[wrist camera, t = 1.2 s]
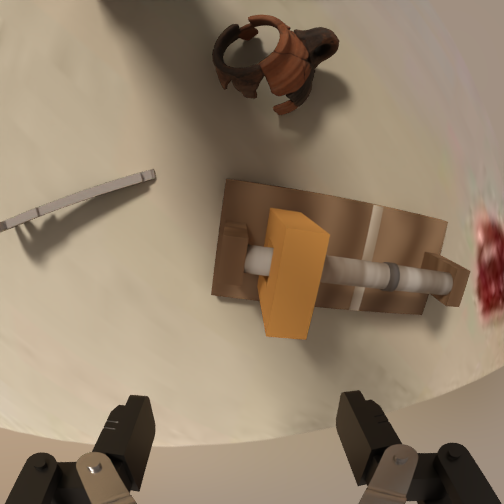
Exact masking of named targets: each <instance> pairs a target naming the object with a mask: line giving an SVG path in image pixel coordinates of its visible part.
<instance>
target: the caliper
mask: <svg viewBox="0 0 504 504" xmlns="http://www.w3.org/2000/svg"><path fill="white" fill-rule="evenodd" d="M154 178H156V177H155V173H154V169H152V170H148V171H144V172H140V173H136V174H133V175H130V176H126V177H123V178H120V179H117V180H113V181H110V182H107V183H104V184H101V185H98V186H95V187H92V188H89V189H86V190H83V191H80V192H77V193H74V194H72V195H69V196H66V197H63V198H61V199H58V200H55V201H53V202H50V203H47V204H45V205H42V206H39V207H37V208H34V209H31V210H29V211H26V212H24V213H21V214H19V215H17V216H14V217H12V218H9V219H7V220H5V221H3V222H0V232H3V231H5V230H8V229H11V228H14V227H16V226H17V225H20V224H23V223H26V222H27V221H29V220H32V219H35V218H37V217H40V216H43V215H45V214H47V213H50V212H53V211H55V210H58V209H61V208H64V207H66V206H69V205H72V204H75V203H78V202H81V201H84V200H87V199H90V198H93V197H96V196H99V195H102V194H105V193H108V192H111V191H114V190H118V189H121V188H124V187H127V186H131V185H134V184H137V183H141V182H144V181H147V180H151V179H154Z"/></svg>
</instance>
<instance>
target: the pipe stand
mask: <svg viewBox="0 0 504 504" xmlns="http://www.w3.org/2000/svg"><path fill="white" fill-rule="evenodd" d="M270 208H276V209H283V210H289V211H296V212H301V213H302V214H304V215H305V216H306V217H308V218H309V219H310V220H312V221H313V222H314V223H316V224H317V225H318V226H320V227H321V228H322V229H324V230H325V231H326V232H328V233H329V234H330V238H329V243H328V247H327V252H326V257H325V262H324V266H323V271H322V275H321V280H320V284H319V288H318V293H317V297H316V301H315V305H314V307H323V308H334V309H346V310H354V311H371V312H385V313H400V314H417V315H422V313H423V310H424V307H425V304H426V301H427V298H428V295H429V294H431V295H432V296H434V297H435V298H436V299H438V300H439V301H440V302H442V303H443V304H444V305H445V306H453V307H459V305H460V303H461V300H462V297H463V294H464V290H465V287H466V284H467V281H468V277H469V274H470V271H469V270H467V269H465V268H464V267H462V266H460V265H458V264H456V263H454V262H452V261H450V260H448V259H447V258H445V257H443V256H441V255H440V253H441V249H442V245H443V241H444V237H445V232H446V228H447V223H448V222H446V221H443V220H440V219H436V218H432V217H428V216H424V215H420V214H416V213H411V212H407V211H403V210H398V209H394V208H389V207H385V206H380V205H375V204H371V203H366V202H361V201H356V200H351V199H346V198H341V197H336V196H330V195H325V194H320V193H314V192H308V191H303V190H297V189H291V188H285V187H279V186H272V185H266V184H259V183H253V182H246V181H239V180H232V179H226V184H225V191H224V198H223V206H222V213H221V220H220V228H219V235H218V243H217V251H216V259H215V267H214V276H213V284H212V293H211V295H216V296H223V297H231V298H239V299H248V300H256V301H260V299H259V294H258V288H257V284H258V278H259V275H263V276H269V272H270V266H271V261H272V255H273V249H274V248H270V247H264V242H265V236H266V230H267V224H268V218H269V212H270Z"/></svg>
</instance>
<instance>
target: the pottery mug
mask: <svg viewBox="0 0 504 504" xmlns="http://www.w3.org/2000/svg"><path fill="white" fill-rule="evenodd" d="M248 20H249V22H250V24H247V25H245V26H243V27H241V28H239V26H238V24H232V25H230V26H229V27H228V28H226V29H225V30H224V31H223V33H222V34H221V35H220V36H219V37H218V39H217V41H216V43H215V45H214V49H213V53H212V56H213V62H214V65H215V66H216V72H217V74H218V77H219V80H220V83H221V85H222V87H223V88H224V89H225V90H226V89H227V86H228V84H229V82H230V81H231V80H232V83H233V85H234V86H235V88H236V89H237V90H238V91H240V92H242V94H243V96H244V97H246V98H253V99H254V98H257V92H256V90H257V88H258V86H259V83H260V81H261V80H262V79H263V77H264V76H265V77H266V80H267V82H268V84H269V86H270V89H271V92H272V93H273V94H275V95H276V96H282V95H286V96H287V97H288V98H289V99H290V100H289V101H286V102H284V103H282V104H279V105H275V106H274V107H273V110H274V111H275V112H277V113H278V114H279V115H283V114H287V113H289V112H292V111H293V110H295V109H297V108H298V107H300V106H301V105H302V104H303V103H304V102H305V101H306V99H307V98H308V96H309V94H310V92H311V88H312V81H313V78H314V73H315V68H316V67H317V66H318V65H319V64H320V63H321V62H323V61H324V60H326V59H328V58H330V57H331V56H332V55H334V54H335V53H336V51H337V50H338V47H339V39H338V38H337V36H336V35H335V34H334V32H333V31H331V30H329V29H327V28H323V27H318V28H313V29H310V30H304V31H302V30H297V29H296V30H294V32H293V31H290V27H288V26H286V25H285V24H284V23H283V22H282V21H281V20H280V19H277V18H275V17H273V16H270V15H254V16H250V17H248ZM263 25H269V26H273V27H275V28H277V29H278V31H279V33H280V39H279V42H278V45H277V46H276V48H275V50H274V51H273V52H272V53H271V54H270V55H269V56H268V57H267V58H265V59H264V60H262V61H261V62H259V63H258V64H255V65H252V66H249V67H245V68H233V67H229V66H227V65H226V64H225V63H224V61H223V54H224V52H225V50H226V48H227V47H228V46H229V45H230V44H231V43H233V42H234V41H235V40H237V39H238V38H241V39H243V40H246V41H248V40H250V39H252V38H253V37H254V36H256V35H257V34H258V30H257V29H256V28H254V27H257V26H263Z"/></svg>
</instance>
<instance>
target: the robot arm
mask: <svg viewBox="0 0 504 504" xmlns="http://www.w3.org/2000/svg"><path fill="white" fill-rule="evenodd" d="M336 428H337V432H338V435H339V437H340V440H341V442H342V445H343V448H344V451H345V453H346V456H347V458H348V461H349V464H350V466H351V469H352V471H353V474H354V477H355V480H356V482H357V485H358V486H361V485H365V484H367V486H368V488H367V489H366V491H365V492H364V494H363V496H362V498H361V500H360V502H359V504H405V503H406V501H417V503H418V504H501V502H500V500H499V499H498V497H497V495H496V494H495V492H494V491H493V489H492V487H491V486H490V484H489V482H488V481H487V479H486V478H485V476H484V475H483V473H482V471H481V470H480V468H479V467H478V465H477V464H476V462H475V460H474V459H473V457H472V456H471V455H470V453H469V451H468V450H467V449H466V448H465V447H464V446H463V445H461V444H458V443H447V444H445V445H443V446H442V447H441V448H440V449H439V451H438V453H417V452H416V451H415V450H414V449H413V448H412V447H410V446H408V445H403V444H402V443H401V441H400V439H399V438H398V436H397V434H396V433H395V431H394V429H393V428H392V426H391V424H390V422H388V419H387V417H386V416H385V414H384V412H383V410H382V409H381V407H380V406H379V405H378V404H377V403H375V402H374V401H372V400H365V399H364V397H363V395H362V393H361V392H360V391H359V390H357V391H350V392H343V393H341V396H340V402H339V407H338V412H337V417H336ZM154 436H155V421H154V417H153V412H152V408H151V404H150V400H149V397H148V396H139V395H130V396H129V398H128V401H127V403H126V405H125V406H124V405H118V406H117V407H116V408H115V409H114V410H113V411H111V413H110V415H109V417H108V419H107V422H106V423H105V425H104V428H103V430H102V432H101V434H100V436H99V438H98V440H97V442H96V444H95V447H94V449H93V451H92V452H90V453H86V454H84V455H82V456H81V457H80V458H79V459H78V460H77V462H56V460H55V458H54V457H53V456H52V455H50V454H48V453H36V454H33V455H32V456H30V457H29V458H28V459H27V461H26V463H25V465H24V467H23V469H22V471H21V472H20V474H19V476H18V478H17V480H16V482H15V484H14V486H13V488H12V490H11V492H10V494H9V496H8V499H7V500H6V503H5V504H137V503H136V501H135V500H134V498H133V497H132V495H130V490H133V491H140V487H141V484H142V480H143V476H144V472H145V469H146V465H147V461H148V458H149V454H150V450H151V447H152V443H153V440H154Z"/></svg>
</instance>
